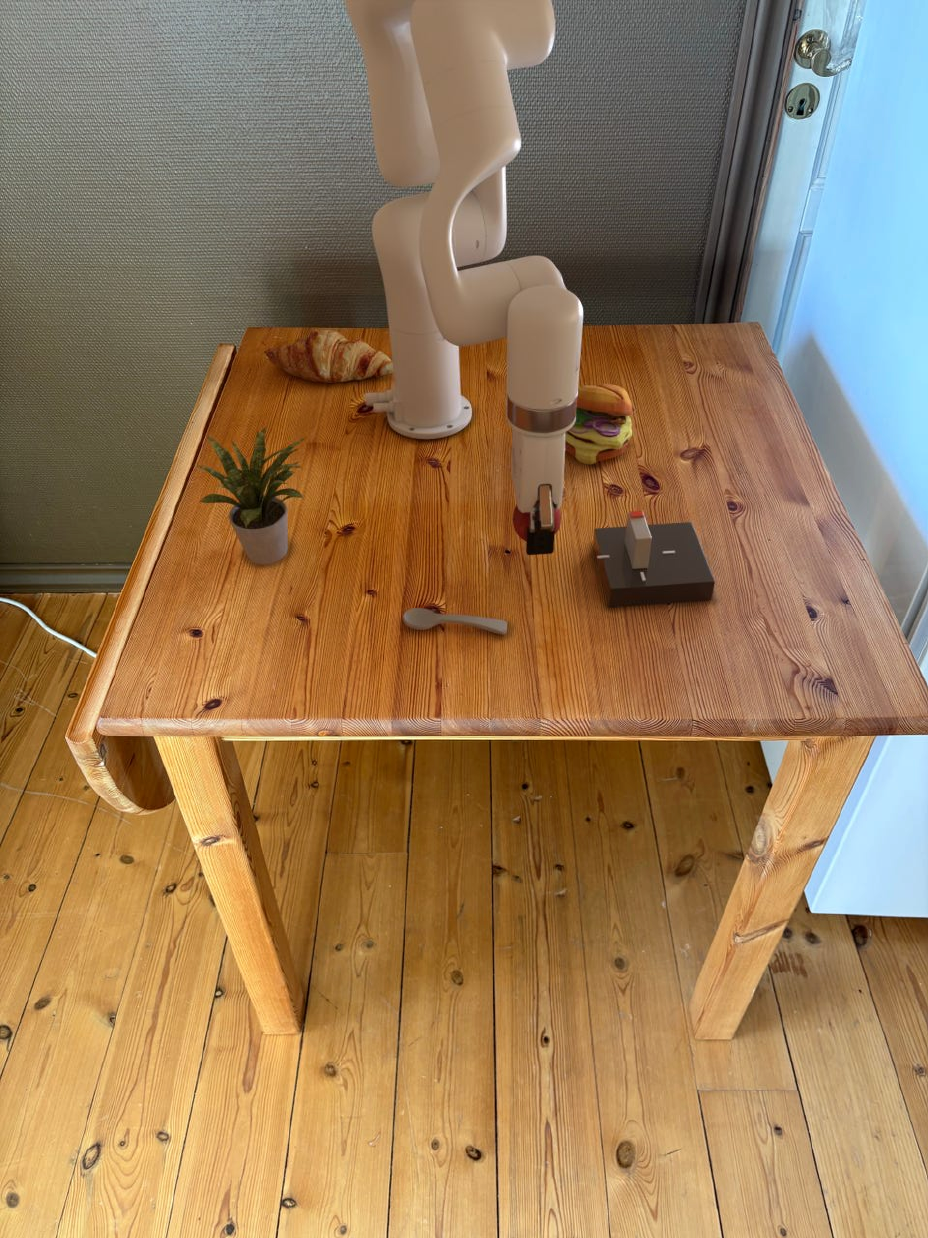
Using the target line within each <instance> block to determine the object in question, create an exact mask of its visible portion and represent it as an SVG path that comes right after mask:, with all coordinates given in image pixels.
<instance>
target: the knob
mask: <svg viewBox="0 0 928 1238" xmlns="http://www.w3.org/2000/svg"><path fill="white" fill-rule="evenodd" d="M626 517H627V518H626V526H625V527H626V534H625V545H626V548H627V551H628V555H629V558H630V562H631V565H632V568H633V569H639V568H648V562H649V555H650V547H651V540H652V537H651V534H650V531H649V528H648V525H649V524H648V522H647V520H646V517H645V514H644V511H643V510H631V511H628V512H627V516H626Z"/></svg>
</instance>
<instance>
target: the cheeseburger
mask: <svg viewBox="0 0 928 1238" xmlns="http://www.w3.org/2000/svg"><path fill="white" fill-rule="evenodd" d="M635 412H636V409H635V408H634V407H633V404H632V401H631V398H630V396H629V394H628V391H626V390H625V389H624V388H623V387H622V386H620V385H616V384H612V383H611V384H610V383H599V384H595V385H590V384H586V385H581V386H580V387H578V395H577V409H576V421H575V423H574V425H573V426H572V428H571V429H569V430H568V431H566V432H565V452H566V451H567V453H568V454H570V455H572V456H573V458H575V459H576V461H578V462H579V463H581V464H584V465H594V464H596V463H597V462H600V461H607V460H609V459H612V458H615V457H618V456H621V454H623V453H624V452H625V451H627V448H628V445H629V441H630V439H631V438H632V436H633V429H632V425H633V423H632V419H631V417H630V416H631V415H633V413H635Z"/></svg>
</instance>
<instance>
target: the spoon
mask: <svg viewBox="0 0 928 1238" xmlns="http://www.w3.org/2000/svg"><path fill="white" fill-rule="evenodd" d="M402 622H403V623H404V624H405V625H406V626H407V627H408V628H410V629H413V630H416V631H426V630H429V629H432V628H433V627H435V626H438V625H440V624H441V625H442V624H457V625H464V626H470V627H474V628H478V629H481V630H485V631H488V632H491V633H494V634H496V635H497V634H498V635H501V636H505V635H506V634H507V631H508V622H507V621H506V620H504V619H499V618H489V617H483V616H477V615H468V614H452V613H451V614H450V613H449V614H447V613H443V614H442V613H436V612H434V611H432V610H430V609H428V608H423V607H413V608H410V609H407V610H406V611H405V612H404V613H403V615H402Z"/></svg>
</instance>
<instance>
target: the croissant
mask: <svg viewBox="0 0 928 1238" xmlns="http://www.w3.org/2000/svg"><path fill="white" fill-rule="evenodd" d="M266 354H267V355H266V356H267V358H268V360H269V361H270V363H272V364H274V365H276V366H278V367H280V368H282V370H283V371H284V372H286V373H287V374H289V375H291V376H293V377H298V378H301V379H302V380H305V381H310V382H315V383H317V382H321V383H326V384H337V383H344V382H351V381H353V380H355V381H361V380H362V381H363V380H365V379H370V378H372V377H378V378H381V377H384V376H389V375H391V374H393V363H392V359H390V357H389V356H388V355H387V354H385V352H383V351H381V350H375V349H374V348H372V347H371V346H370V345H369V344H368V343H367V342H365V341H364V339H362V338H361V339H353V340H349V339H348V338H345V336H344V335H343V334H342V333H340V332H338V331H336V330H334V329H322V328H320V329H316V330H314V329H313V330H312V331H310V334H309V336H308V337H299V338H297V339H296V340H294V343H292V344H291V343H284V344H283V343H282V344H280V345H279V346H277V347H276V348H268V349H267V351H266Z"/></svg>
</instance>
